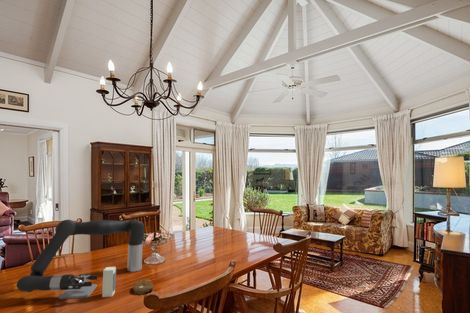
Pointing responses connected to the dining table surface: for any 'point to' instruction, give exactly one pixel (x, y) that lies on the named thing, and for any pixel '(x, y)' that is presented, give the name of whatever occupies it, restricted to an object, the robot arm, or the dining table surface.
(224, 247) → the dining table surface
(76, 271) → the dining table surface
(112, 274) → the off-white rectangular block
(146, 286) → the decorative rock
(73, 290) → the slate tile
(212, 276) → the dining table surface
